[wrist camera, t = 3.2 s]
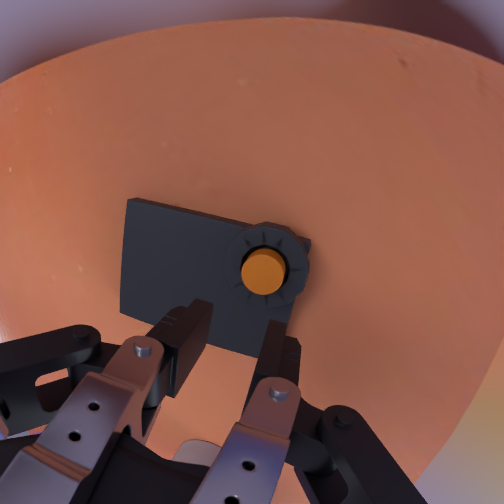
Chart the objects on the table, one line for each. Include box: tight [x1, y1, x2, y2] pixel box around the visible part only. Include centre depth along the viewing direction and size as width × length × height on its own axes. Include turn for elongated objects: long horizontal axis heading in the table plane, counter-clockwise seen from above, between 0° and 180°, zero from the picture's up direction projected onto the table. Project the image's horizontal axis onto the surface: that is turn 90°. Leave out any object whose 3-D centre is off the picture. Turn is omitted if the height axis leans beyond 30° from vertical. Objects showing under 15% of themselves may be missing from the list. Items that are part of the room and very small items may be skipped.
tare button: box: [241, 248, 286, 295], centre depth 19 cm, size 3×3×2 cm
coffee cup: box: [172, 440, 221, 467], centre depth 23 cm, size 10×10×15 cm
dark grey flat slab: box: [120, 198, 311, 358], centre depth 23 cm, size 11×14×3 cm
